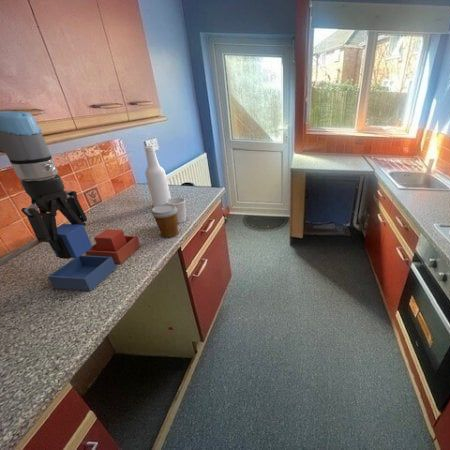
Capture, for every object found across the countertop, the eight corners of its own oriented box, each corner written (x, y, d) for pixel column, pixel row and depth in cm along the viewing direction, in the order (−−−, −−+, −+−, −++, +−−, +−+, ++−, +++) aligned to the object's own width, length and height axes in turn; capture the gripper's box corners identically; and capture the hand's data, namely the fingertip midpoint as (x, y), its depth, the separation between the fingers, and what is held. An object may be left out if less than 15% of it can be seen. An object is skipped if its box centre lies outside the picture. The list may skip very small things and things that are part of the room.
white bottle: (152, 204, 132) (137, 145, 118) (170, 201, 136) (158, 144, 122) (154, 210, 125) (139, 149, 111) (173, 206, 130) (161, 147, 116)
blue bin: (54, 288, 75) (47, 276, 73) (84, 265, 85) (78, 254, 83) (90, 290, 75) (84, 279, 73) (116, 267, 85) (111, 256, 82)
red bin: (89, 261, 87) (84, 250, 85) (112, 244, 97) (108, 234, 95) (120, 263, 87) (116, 252, 84) (140, 246, 97) (137, 236, 94)
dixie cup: (193, 218, 119) (189, 199, 114) (178, 225, 112) (173, 205, 107) (180, 214, 122) (176, 195, 117) (165, 221, 115) (160, 201, 110)
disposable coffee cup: (154, 232, 106) (147, 207, 100) (177, 226, 112) (172, 201, 106) (161, 242, 100) (154, 215, 94) (185, 234, 105) (180, 209, 100)
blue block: (56, 257, 73) (44, 233, 69) (74, 246, 78) (63, 223, 74) (76, 258, 72) (65, 234, 69) (92, 247, 78) (83, 224, 74)
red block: (101, 256, 89) (93, 237, 85) (113, 247, 94) (106, 229, 90) (118, 257, 89) (110, 238, 85) (129, 248, 94) (122, 229, 90)
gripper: (15, 190, 56) (59, 272, 67) (84, 168, 72) (109, 236, 83) (-17, 188, 56) (31, 270, 67) (59, 166, 73) (88, 235, 83)
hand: (75, 251), depth 75 cm, fingers closed on blue block, 6 cm apart
